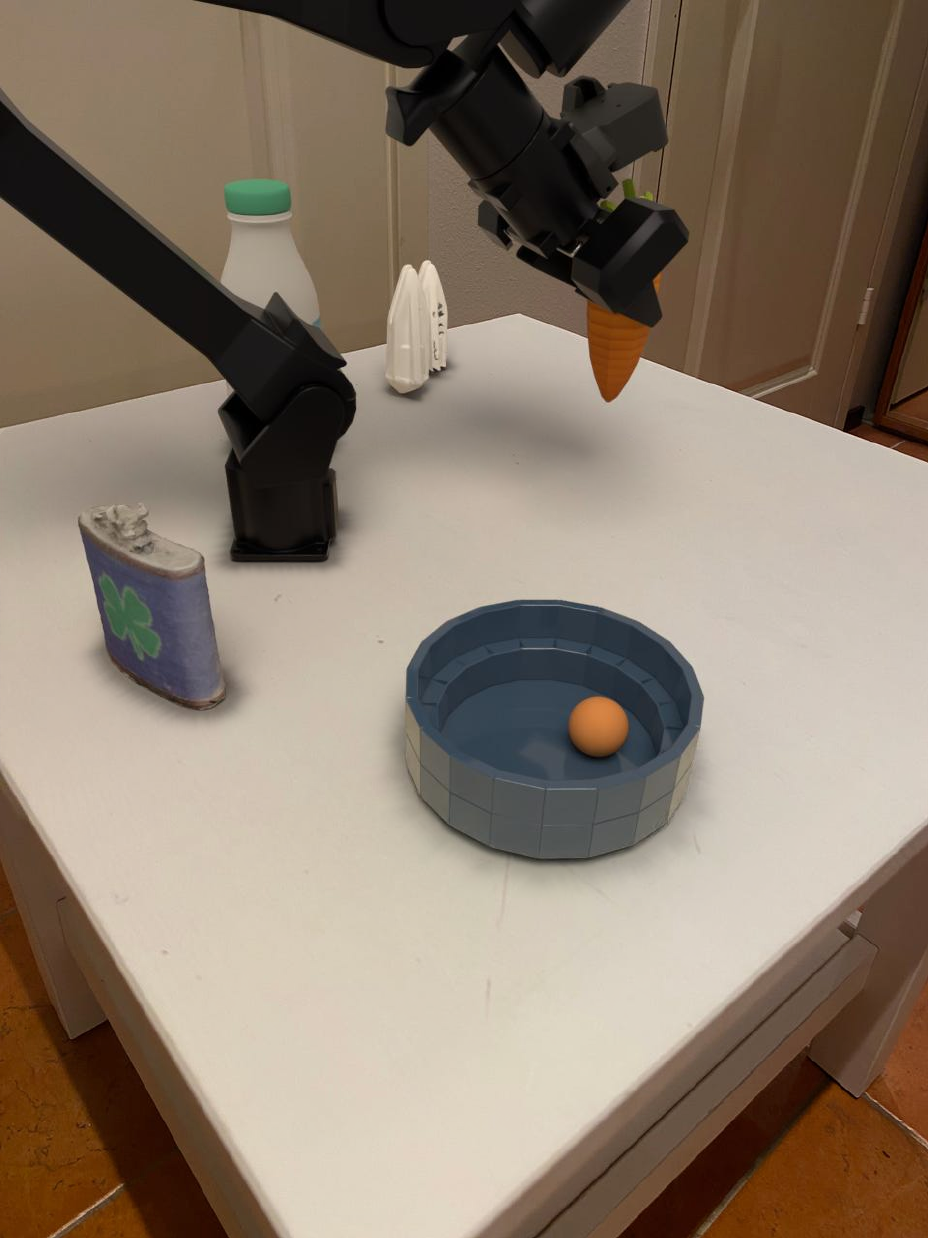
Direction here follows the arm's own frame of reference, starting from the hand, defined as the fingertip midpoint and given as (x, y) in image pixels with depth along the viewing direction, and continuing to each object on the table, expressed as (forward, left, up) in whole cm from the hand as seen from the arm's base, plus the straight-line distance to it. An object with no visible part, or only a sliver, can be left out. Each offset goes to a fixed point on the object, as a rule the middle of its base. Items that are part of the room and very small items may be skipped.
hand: (636, 310), depth 66 cm
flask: (-30, -24, -13) cm, 41 cm away
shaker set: (-16, +21, -13) cm, 29 cm away
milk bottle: (-27, +6, -13) cm, 31 cm away
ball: (-6, -31, -11) cm, 34 cm away
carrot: (-1, 0, -7) cm, 7 cm away
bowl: (-9, -31, -13) cm, 35 cm away
